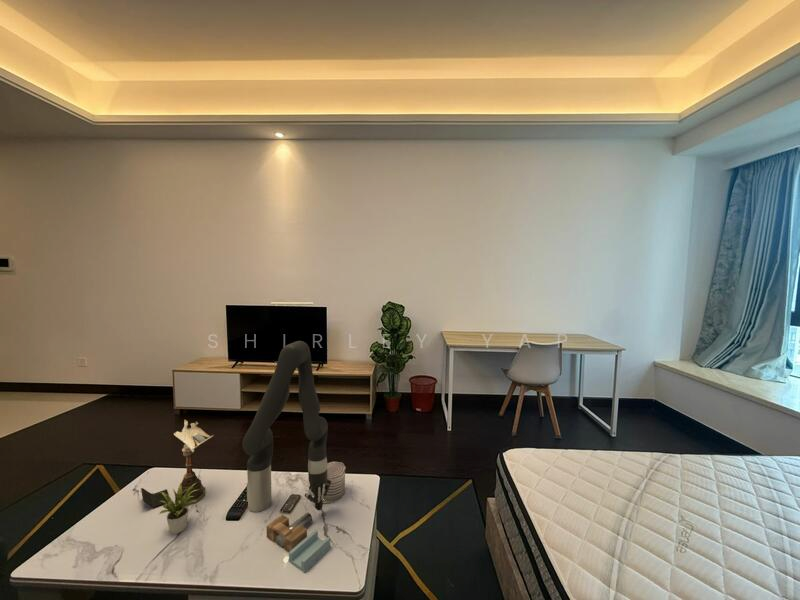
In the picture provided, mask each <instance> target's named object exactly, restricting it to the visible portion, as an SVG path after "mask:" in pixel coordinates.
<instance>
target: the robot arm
mask: <svg viewBox="0 0 800 600" xmlns="http://www.w3.org/2000/svg"><path fill="white" fill-rule="evenodd" d="M296 369H297V370H296ZM296 371H297V372H298V400H299V403H300V407H301V411H302V415H303V416H302V417H303V418H302V419H303V431H304V435H305V436H306V438H307V439H308V440H309V441H310V443H309V445H308V450H307V451H308V453H307V454H308V460H307V461H308V463H307V469H308V470H307V471H308V478H307V479H308V483H309V486H308V491H307V492H305V493H304V497H305V498H306V499H307V500H309V502H311V503H313V504H314V509H315V510H317V511H318V512H319V511H321V510H322V509H323V503H324V501H323V497H324V496H326V494H327V492H328V489H329V487H330V484H331V480H328V479H327V477H328V476H327V464H328V459H327V439H328V433H329V432H328V431H329V428H328V427H329V425H328V422H327V420H326V418H325V417H323V416H320V411H321V404H320V401H319V397H318V393H317V390H316V389H317V388H316V386H315V380H314V374H313V366H312V355H311V350H310V346H309V345H308V343H306V342H305V341H302V340H296V341H294V342H292V343H289V344H286V345H285V346H284V347H283V348H282V349H281V351H280V353H279V356H278V359H277V362H276V367H275V370H274V372H273V375H272V376H271V379H270V381H269V383H268V385H267V388H266V390H265V392H264V395H263V397H262V400H261V402H260V404H259V406H258V409H257V411H256V413H255V416H254V418H253V421H251V424H250V426H249V427H248V430H247V431H246V433H245V435H244V436H243V439H242V446H241V447H242V450H243V452H244V453H245V454H246V455H248V456H250V457H249V458H248V460H247V462H246V463H247V464H246V468H247V469H246V471H247V475H246V476H247V483H246V503H247V502H248V505H247V508H248V510H249V511H250V512H252V513H258V512H263V511H265V510H267V509H268V508H269V507H270V506H271V505H272V498H273V497H272V459H273V454H274V435H273V434H274V433H273V432H272V430H271V428H270V427H271V426H272V425H273V423H275V421H276V420H277V418H278V417H279V416H280V414H281V413H282V412H283V410H284V408H285V406H286V404H287V401H288V400H289V397H290V393H291V392H290V391H291V388H290V387H291V386H290V384H291V383H290V382H291V380H292V377H293V375H294V374H295V372H296ZM324 489H326V490H325V492H324Z"/></svg>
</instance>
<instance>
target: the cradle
mask: <svg viewBox="0 0 800 600" xmlns="http://www.w3.org/2000/svg"><path fill="white" fill-rule="evenodd" d="M331 545H332V544H331V538H330V537H329V536H326V537H325V538H324V539H322V538H320V537H319V531H318V529H314V530H313V531H312V532H311V533H309V535H307V537H306V538H305V539H304V540H303V541H302V542H300V543H299V544H298V545H297V546H296V547H294V548H293V549H292V550H291V551H290V552H288V562H289V563H290V564H291V565H292V566H294V567H296V568H297V569H298V570H300V571H301V572H302V573H306V572H307V571H308V570H309V569H311V567H313V565H315V564H316V562H318V561H319V560H320V559H321V558H322V557H323V556H324V555H325V554H326V553H327V552H328V551H330V549H331V548H332V546H331Z"/></svg>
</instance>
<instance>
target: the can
mask: <svg viewBox="0 0 800 600" xmlns="http://www.w3.org/2000/svg"><path fill="white" fill-rule="evenodd" d="M346 468H347V467H346V466H345V464H344V463H343V462H341V461H340V462H339V461H331V462H327V476H328V477H327V479H328V480H331V484H330V487H329V489H328V492H327V494H326V496H324V497H323V499H324V500H325V501H324V502H325V503H335V502H338V501H340V500H342V499H343V498H344V497H345V495H346ZM325 490H326V489H324V492H325Z"/></svg>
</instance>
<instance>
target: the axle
mask: <svg viewBox="0 0 800 600" xmlns="http://www.w3.org/2000/svg"><path fill="white" fill-rule="evenodd" d="M313 520H314V519H313V516H312V514H311V513H310V512H306V513H304V514H303V515H302V516H300V517H299V518H298V519H297V520H296V521H294V522H293V523H292V524H289V527H288V528H290V529H292V530H294V529H295V528H296V527H297V526H299V525H301V526H303V527H304V528H306V529H307V528H308V526H310V525H311V524H312V523H313ZM275 542H276V545H277V546H278V547H279V548H282V547H284V537H283V536H282V535H280V534H278V535H277V536H276V540H275Z"/></svg>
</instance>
